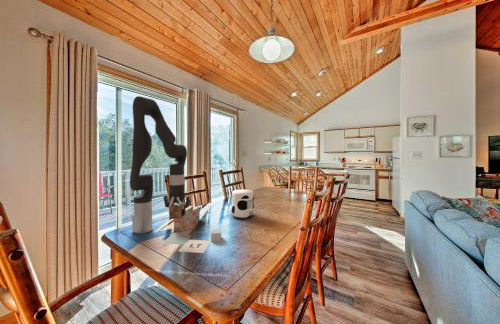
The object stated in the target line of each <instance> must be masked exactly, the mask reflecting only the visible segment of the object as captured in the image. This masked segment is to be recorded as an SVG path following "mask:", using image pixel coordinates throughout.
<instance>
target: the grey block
mask: <svg viewBox="0 0 500 324" xmlns="http://www.w3.org/2000/svg"><path fill="white" fill-rule="evenodd" d="M210 241H211V242H210V243H215V242H222V228H220V229H219V228H218V229H211V230H210Z"/></svg>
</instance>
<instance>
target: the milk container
mask: <svg viewBox="0 0 500 324" xmlns="http://www.w3.org/2000/svg"><path fill="white" fill-rule="evenodd" d="M231 196H232V197H231V198H232V199H231V201H232V204H231V208H230V212H231V213H230V214H231V215H232V216H233V217H235V218H237V219H250V218H252V217H253V216H254V215H255V212H256V207H255V193H254V190H251V189H235V190H233V191H232V195H231Z"/></svg>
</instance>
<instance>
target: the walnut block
mask: <svg viewBox="0 0 500 324" xmlns="http://www.w3.org/2000/svg"><path fill="white" fill-rule="evenodd" d="M168 214H169V216H168V217H169V219H173V220H174V219H180V218H182V217H183V216H182V208H181V206H180V204H179V203H174V205H172V206H170V207H169V208H168Z"/></svg>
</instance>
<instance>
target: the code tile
mask: <svg viewBox="0 0 500 324" xmlns="http://www.w3.org/2000/svg"><path fill="white" fill-rule="evenodd" d="M211 243H212V242H211V240H204V239H203V240H202V239H188V240H187V241H186V242H185V243H184V244H183V246H181V247H180V249H178V252H180V253H181V252H185V253H197V254H198V253H199V254H204V253H205V252H206V250H207V249H208V246H209V245H210V244H211Z"/></svg>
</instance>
